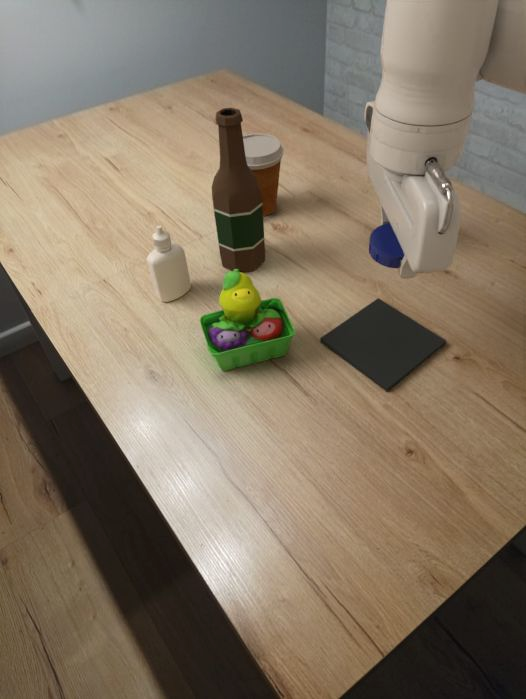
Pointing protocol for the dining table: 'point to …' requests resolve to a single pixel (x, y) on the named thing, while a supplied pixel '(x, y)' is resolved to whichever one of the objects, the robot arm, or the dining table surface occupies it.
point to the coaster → (383, 343)
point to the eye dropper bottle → (168, 267)
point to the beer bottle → (237, 199)
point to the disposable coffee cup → (264, 165)
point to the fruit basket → (246, 325)
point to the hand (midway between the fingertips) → (396, 253)
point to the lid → (385, 246)
